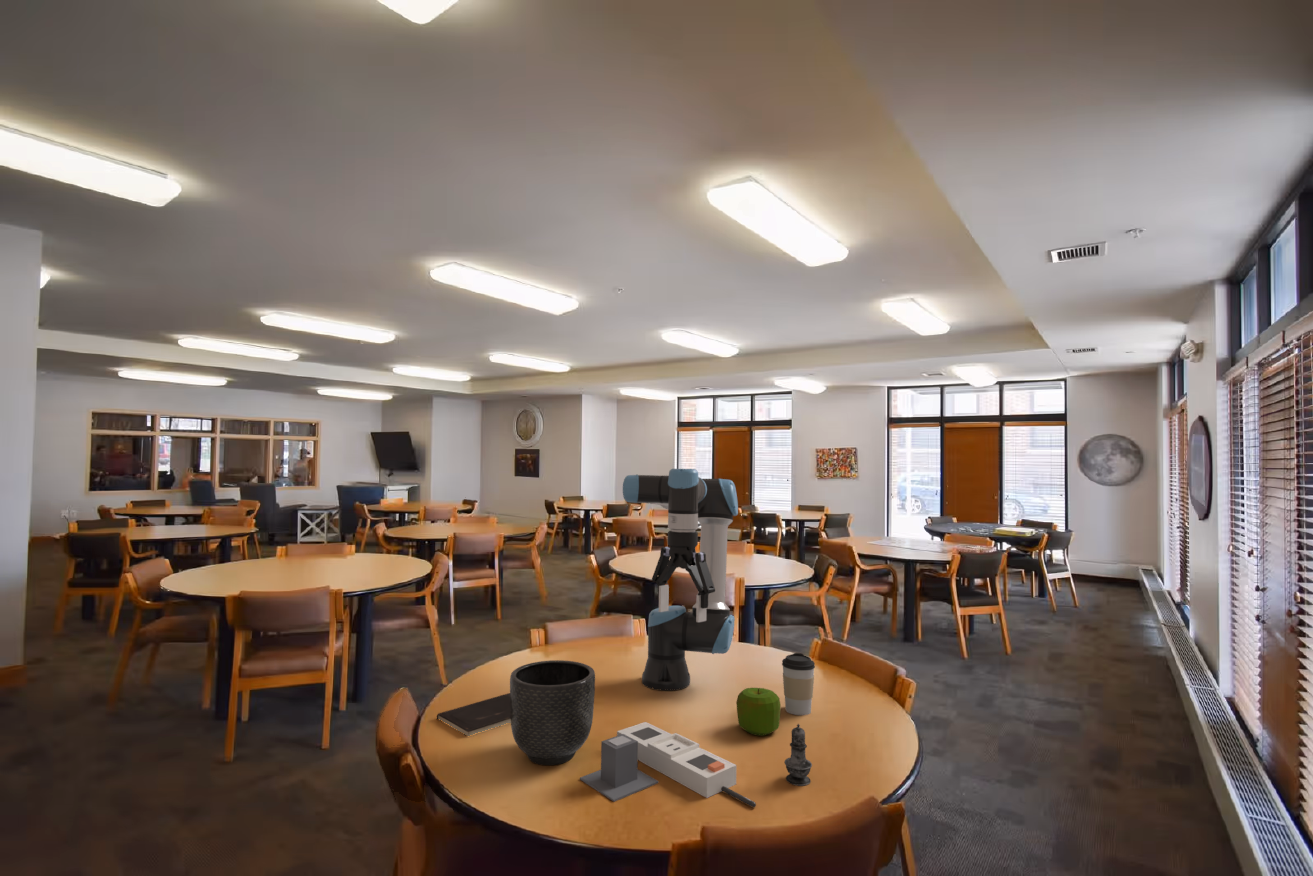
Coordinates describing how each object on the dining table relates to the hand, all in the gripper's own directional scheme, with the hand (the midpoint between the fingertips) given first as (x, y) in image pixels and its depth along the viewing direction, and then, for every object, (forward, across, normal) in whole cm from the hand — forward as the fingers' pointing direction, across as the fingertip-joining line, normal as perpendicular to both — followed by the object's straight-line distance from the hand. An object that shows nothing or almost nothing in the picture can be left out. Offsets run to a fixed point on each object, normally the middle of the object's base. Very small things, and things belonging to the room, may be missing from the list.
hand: (681, 616), depth 159 cm
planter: (+31, -14, -28) cm, 44 cm away
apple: (+31, +8, +20) cm, 38 cm away
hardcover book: (+31, -44, -28) cm, 61 cm away
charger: (+30, +6, -24) cm, 39 cm away
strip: (+30, +13, -10) cm, 34 cm away
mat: (+30, +6, -24) cm, 39 cm away
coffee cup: (+31, +6, +39) cm, 50 cm away
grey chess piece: (+31, +30, +6) cm, 44 cm away
